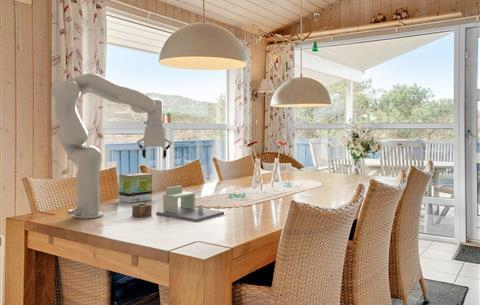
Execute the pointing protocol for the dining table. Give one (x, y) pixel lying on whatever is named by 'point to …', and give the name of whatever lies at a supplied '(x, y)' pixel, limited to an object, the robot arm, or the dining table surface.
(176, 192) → the cover
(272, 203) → the dining table surface
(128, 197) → the tea box
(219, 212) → the board
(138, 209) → the wooden crate
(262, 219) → the dining table surface
